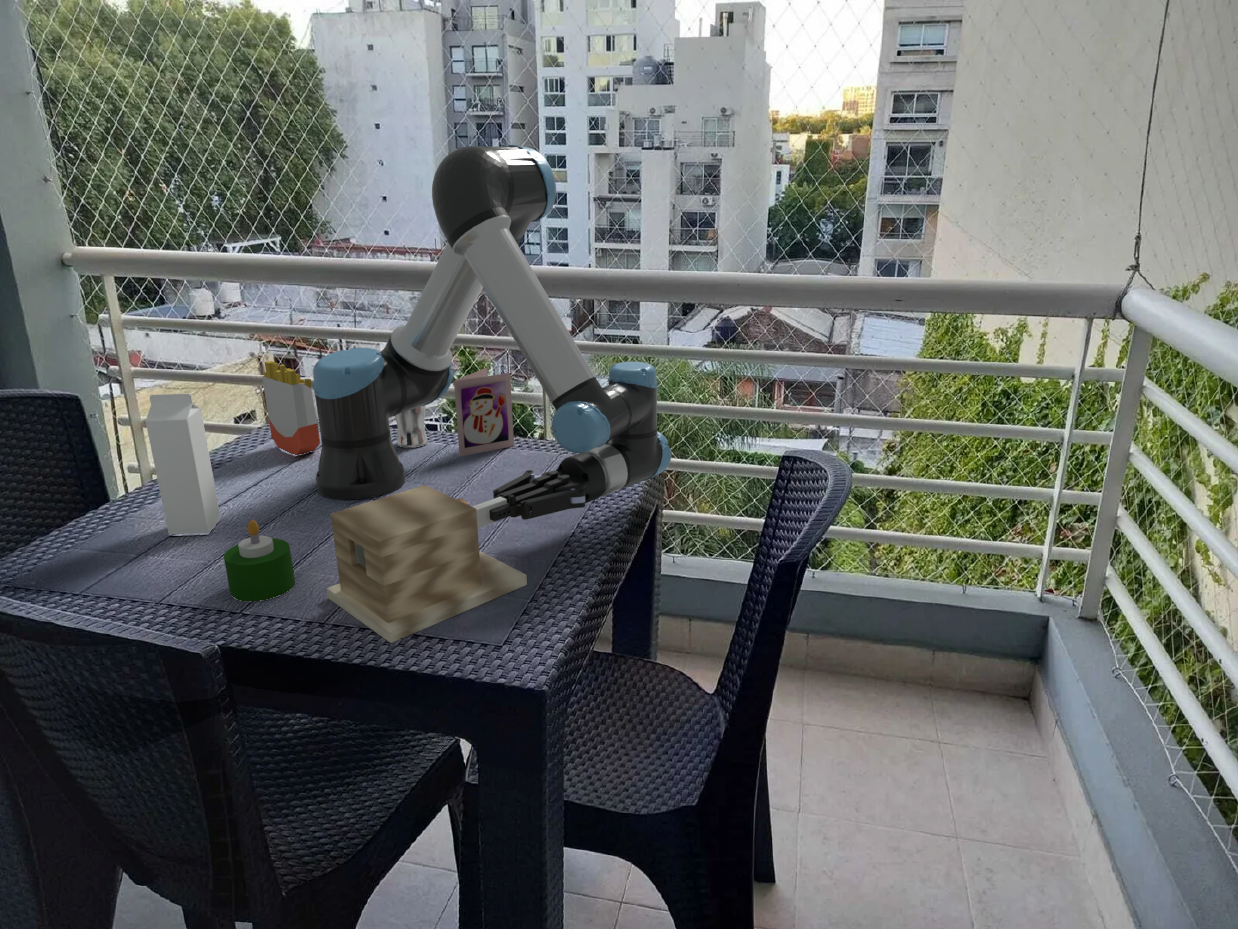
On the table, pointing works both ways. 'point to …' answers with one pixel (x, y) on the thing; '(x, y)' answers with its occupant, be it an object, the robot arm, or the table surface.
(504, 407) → the greeting card
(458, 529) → the press block
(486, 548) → the table surface
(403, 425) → the beer glass
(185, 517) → the milk
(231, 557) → the candle
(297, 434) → the french fries container
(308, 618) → the table surface
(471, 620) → the table surface
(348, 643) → the table surface
